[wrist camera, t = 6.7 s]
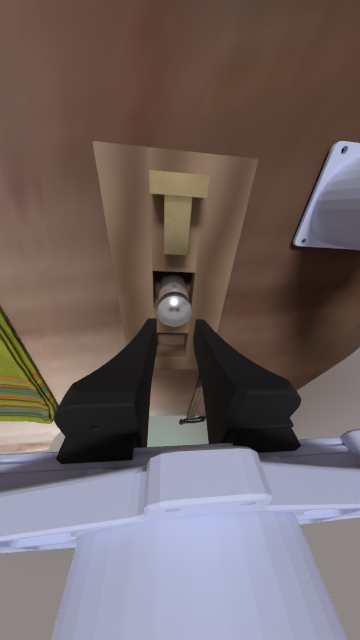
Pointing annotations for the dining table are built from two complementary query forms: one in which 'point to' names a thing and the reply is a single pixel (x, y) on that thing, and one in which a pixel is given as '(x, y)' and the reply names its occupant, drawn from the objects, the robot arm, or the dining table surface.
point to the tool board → (148, 236)
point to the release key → (177, 205)
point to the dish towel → (21, 381)
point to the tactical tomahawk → (194, 406)
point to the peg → (173, 300)
